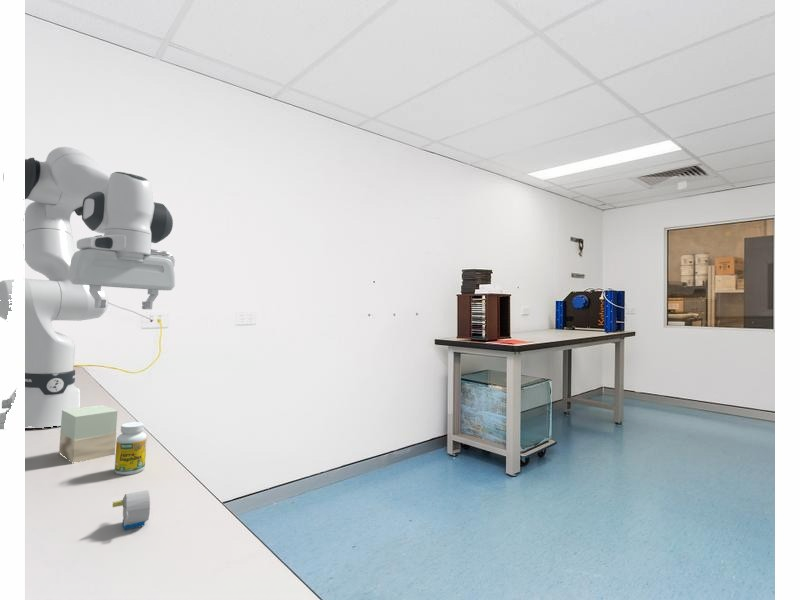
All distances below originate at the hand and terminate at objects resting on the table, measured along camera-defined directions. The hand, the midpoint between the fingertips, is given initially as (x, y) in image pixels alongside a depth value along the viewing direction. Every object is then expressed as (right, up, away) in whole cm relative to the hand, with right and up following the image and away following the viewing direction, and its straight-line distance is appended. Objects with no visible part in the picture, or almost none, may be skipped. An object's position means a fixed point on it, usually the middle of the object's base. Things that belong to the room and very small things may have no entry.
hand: (124, 308), depth 95 cm
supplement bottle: (+4, -34, -5) cm, 34 cm away
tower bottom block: (-10, -33, +3) cm, 35 cm away
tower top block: (-10, -28, +3) cm, 30 cm away
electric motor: (+18, -34, -26) cm, 47 cm away
